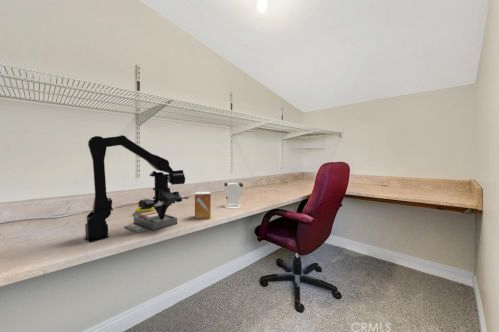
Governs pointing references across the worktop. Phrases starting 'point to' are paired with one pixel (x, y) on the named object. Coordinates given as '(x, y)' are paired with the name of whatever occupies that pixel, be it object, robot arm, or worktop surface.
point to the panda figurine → (233, 195)
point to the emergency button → (143, 210)
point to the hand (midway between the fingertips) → (161, 219)
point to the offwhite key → (152, 216)
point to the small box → (202, 205)
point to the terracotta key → (147, 214)
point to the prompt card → (135, 228)
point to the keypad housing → (155, 226)
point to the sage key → (161, 220)
